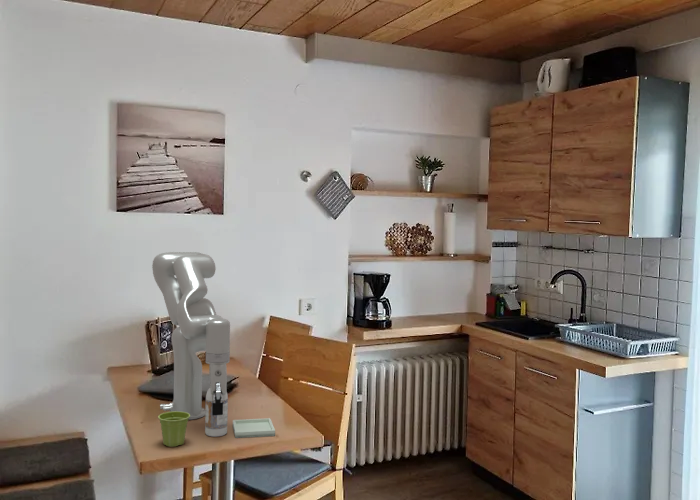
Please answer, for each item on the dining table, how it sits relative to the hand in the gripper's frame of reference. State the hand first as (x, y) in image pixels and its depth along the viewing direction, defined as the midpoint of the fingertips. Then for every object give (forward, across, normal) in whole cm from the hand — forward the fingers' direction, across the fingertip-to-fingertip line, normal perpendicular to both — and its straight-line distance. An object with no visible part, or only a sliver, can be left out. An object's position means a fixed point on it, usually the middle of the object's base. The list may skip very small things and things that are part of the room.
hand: (216, 410), depth 207 cm
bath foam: (+8, 0, 0) cm, 8 cm away
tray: (+8, +1, -12) cm, 14 cm away
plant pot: (+8, -7, +13) cm, 17 cm away
